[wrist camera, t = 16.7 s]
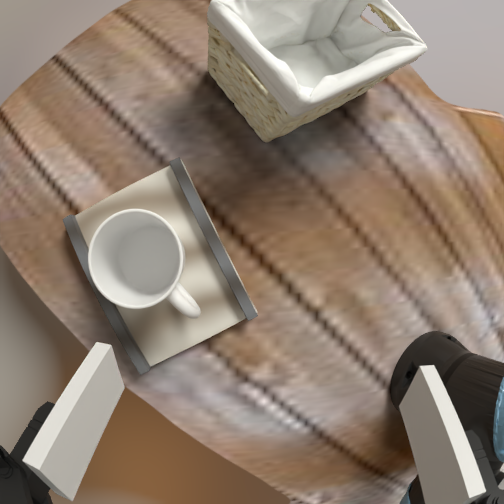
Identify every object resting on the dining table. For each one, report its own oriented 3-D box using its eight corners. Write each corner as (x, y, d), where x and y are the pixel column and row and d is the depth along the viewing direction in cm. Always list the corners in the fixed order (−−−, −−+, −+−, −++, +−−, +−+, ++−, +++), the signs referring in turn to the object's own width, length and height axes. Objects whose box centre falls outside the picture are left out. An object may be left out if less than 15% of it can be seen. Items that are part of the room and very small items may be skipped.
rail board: (255, 310, 38) (260, 314, 35) (141, 367, 35) (138, 375, 32) (182, 163, 37) (181, 156, 34) (69, 223, 34) (60, 220, 31)
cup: (151, 206, 34) (136, 188, 24) (223, 281, 36) (235, 291, 26) (101, 257, 33) (70, 257, 23) (173, 331, 35) (167, 359, 25)
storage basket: (319, 21, 41) (355, -34, 26) (379, 93, 43) (435, 50, 28) (194, 69, 37) (200, -3, 22) (262, 159, 39) (302, 110, 24)
